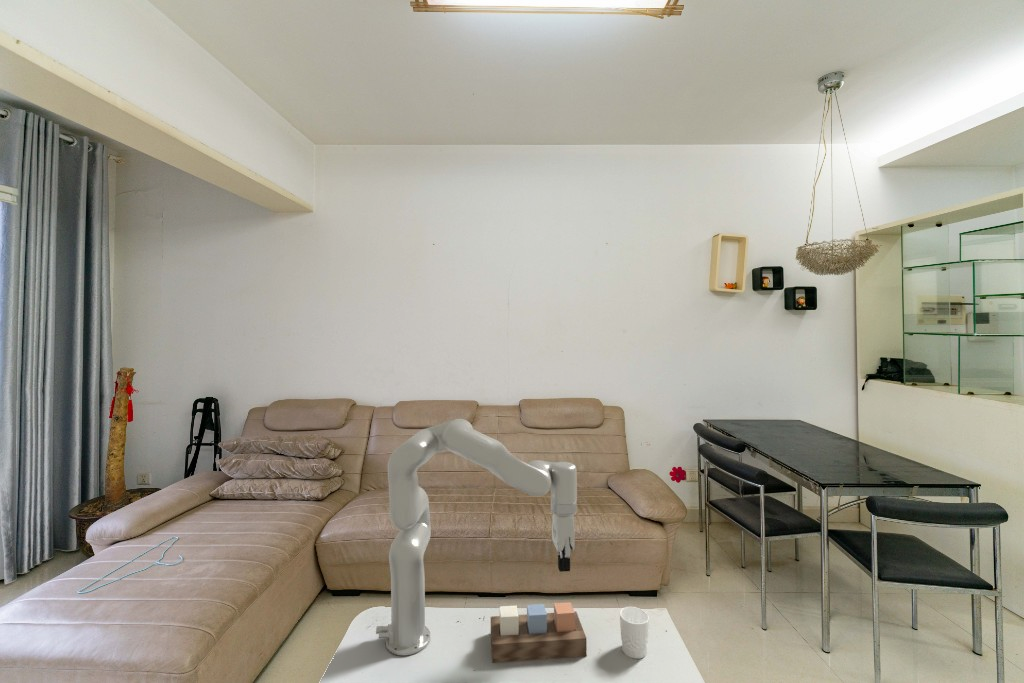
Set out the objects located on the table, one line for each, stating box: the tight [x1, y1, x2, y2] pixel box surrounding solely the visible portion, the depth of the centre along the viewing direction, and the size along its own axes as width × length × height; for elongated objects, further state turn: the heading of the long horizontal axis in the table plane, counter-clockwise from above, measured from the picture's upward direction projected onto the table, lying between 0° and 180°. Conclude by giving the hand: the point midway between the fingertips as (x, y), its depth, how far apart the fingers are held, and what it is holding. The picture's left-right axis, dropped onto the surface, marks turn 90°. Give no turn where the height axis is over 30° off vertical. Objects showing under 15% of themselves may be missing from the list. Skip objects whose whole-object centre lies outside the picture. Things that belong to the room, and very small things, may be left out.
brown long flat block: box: [490, 611, 588, 664], centre depth 126 cm, size 26×12×5 cm, turn 95°
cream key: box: [499, 605, 519, 636], centre depth 125 cm, size 5×5×6 cm
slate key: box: [526, 603, 547, 634], centre depth 126 cm, size 5×5×6 cm
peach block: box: [553, 601, 575, 632], centre depth 126 cm, size 5×5×6 cm
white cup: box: [619, 606, 650, 660], centre depth 123 cm, size 8×8×10 cm
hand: (564, 569), depth 126 cm, fingers closed
